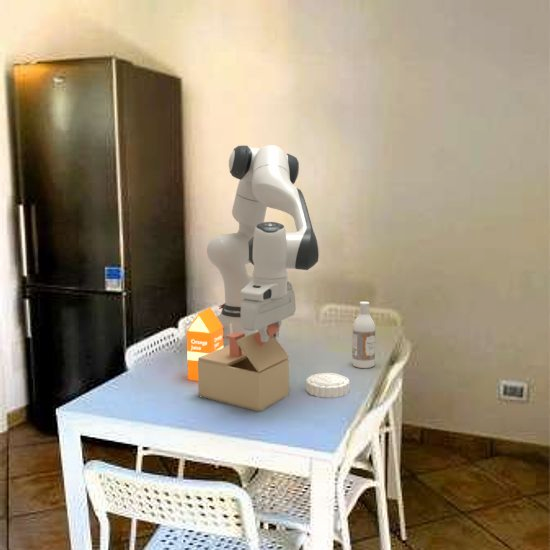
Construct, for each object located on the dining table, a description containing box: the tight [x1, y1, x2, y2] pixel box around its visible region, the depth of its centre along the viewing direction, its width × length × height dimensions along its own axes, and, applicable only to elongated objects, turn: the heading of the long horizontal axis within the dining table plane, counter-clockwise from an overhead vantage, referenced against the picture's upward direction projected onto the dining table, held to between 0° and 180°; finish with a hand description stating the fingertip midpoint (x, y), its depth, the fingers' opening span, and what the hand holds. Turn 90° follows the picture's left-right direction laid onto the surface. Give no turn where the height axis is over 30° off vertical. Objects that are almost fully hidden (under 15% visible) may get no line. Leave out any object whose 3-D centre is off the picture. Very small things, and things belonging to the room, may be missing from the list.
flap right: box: [236, 323, 290, 372], centre depth 158 cm, size 10×14×7 cm
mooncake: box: [305, 372, 351, 399], centre depth 169 cm, size 12×12×4 cm
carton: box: [197, 358, 290, 413], centre depth 165 cm, size 20×14×10 cm
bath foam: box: [351, 301, 376, 369], centre depth 189 cm, size 7×7×20 cm
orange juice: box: [186, 307, 223, 382], centre depth 180 cm, size 8×9×20 cm
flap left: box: [198, 332, 248, 367], centre depth 166 cm, size 10×14×7 cm
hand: (269, 339), depth 158 cm, fingers closed on flap right, 3 cm apart
